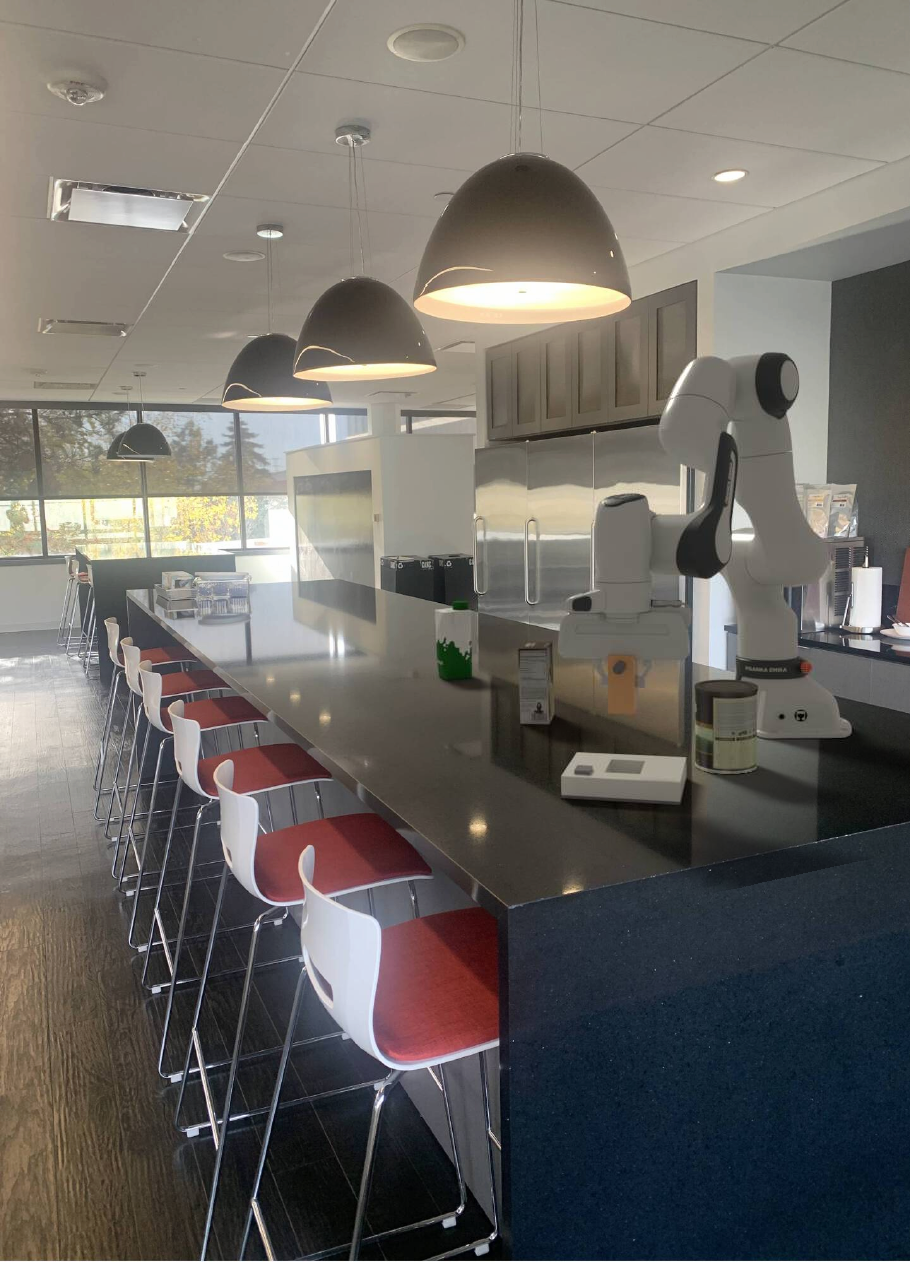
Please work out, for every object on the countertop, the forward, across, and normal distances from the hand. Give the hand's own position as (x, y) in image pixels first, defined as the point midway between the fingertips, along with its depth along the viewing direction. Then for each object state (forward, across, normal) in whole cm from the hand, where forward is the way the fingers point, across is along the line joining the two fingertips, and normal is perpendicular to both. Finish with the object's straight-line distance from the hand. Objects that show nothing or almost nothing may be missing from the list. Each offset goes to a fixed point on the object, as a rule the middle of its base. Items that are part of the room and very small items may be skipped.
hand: (623, 687), depth 149 cm
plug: (+4, 0, +2) cm, 4 cm away
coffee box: (+17, +24, -44) cm, 53 cm away
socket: (+16, 0, 0) cm, 16 cm away
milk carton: (+16, +56, -88) cm, 106 cm away
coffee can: (+16, -15, -15) cm, 27 cm away
